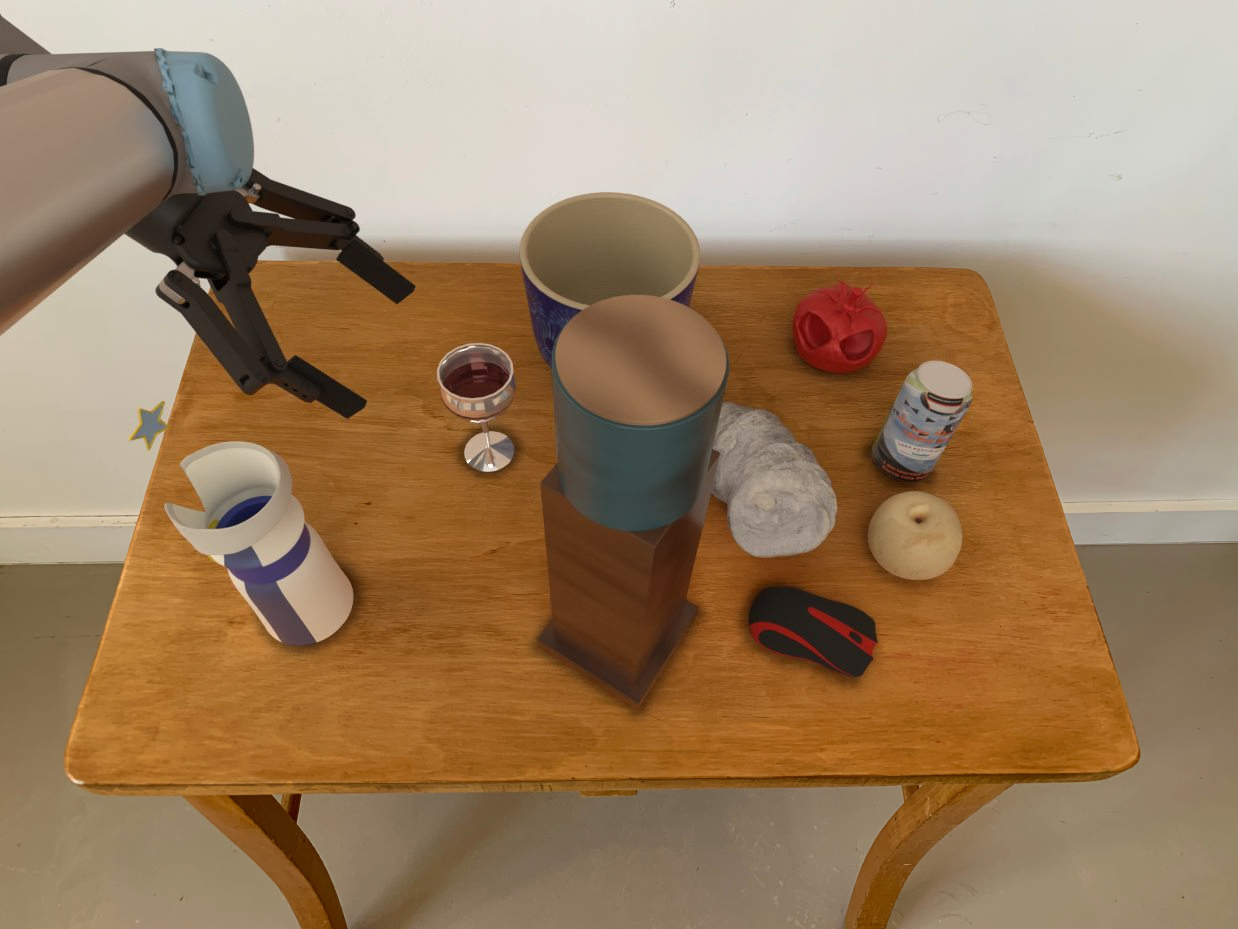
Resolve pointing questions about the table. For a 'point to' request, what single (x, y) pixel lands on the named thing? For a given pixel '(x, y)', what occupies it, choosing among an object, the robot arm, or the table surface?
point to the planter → (603, 258)
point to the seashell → (770, 485)
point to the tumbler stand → (629, 485)
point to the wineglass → (479, 399)
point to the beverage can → (922, 421)
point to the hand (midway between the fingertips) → (383, 349)
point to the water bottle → (259, 536)
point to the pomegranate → (838, 328)
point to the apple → (915, 535)
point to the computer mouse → (813, 629)
